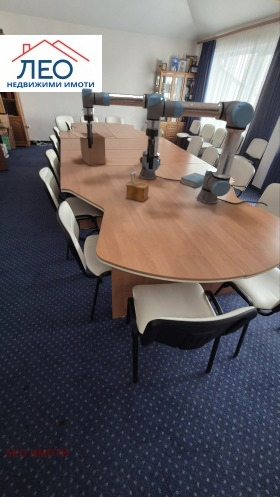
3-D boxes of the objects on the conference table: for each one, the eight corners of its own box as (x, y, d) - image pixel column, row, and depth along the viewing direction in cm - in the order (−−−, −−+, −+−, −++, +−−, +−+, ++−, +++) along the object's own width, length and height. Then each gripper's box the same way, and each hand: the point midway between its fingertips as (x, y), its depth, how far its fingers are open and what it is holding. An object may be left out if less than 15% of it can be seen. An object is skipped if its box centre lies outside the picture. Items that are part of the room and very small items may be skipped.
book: (194, 177, 212) (195, 172, 209) (208, 182, 203) (210, 177, 200) (180, 182, 199) (181, 177, 196) (194, 188, 190) (196, 182, 187)
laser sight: (159, 166, 236) (160, 156, 231) (138, 163, 239) (139, 153, 233) (160, 163, 244) (161, 154, 238) (140, 161, 247) (141, 151, 241)
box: (116, 165, 229) (116, 136, 213) (83, 168, 214) (80, 137, 198) (102, 154, 259) (101, 128, 243) (71, 156, 244) (68, 129, 228)
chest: (126, 198, 165) (126, 186, 160) (131, 193, 173) (132, 181, 167) (143, 201, 162) (144, 189, 156) (147, 197, 169) (148, 185, 163)
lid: (126, 185, 160) (126, 173, 155) (131, 181, 167) (131, 170, 162) (144, 189, 156) (145, 177, 151) (148, 185, 163) (149, 173, 158)
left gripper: (85, 112, 170) (87, 142, 182) (81, 116, 150) (84, 149, 163) (94, 113, 171) (96, 142, 183) (92, 117, 151) (94, 150, 163)
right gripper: (144, 124, 138) (142, 160, 150) (148, 131, 118) (145, 171, 130) (156, 125, 138) (153, 160, 151) (161, 132, 118) (157, 172, 131)
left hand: (90, 146), depth 173 cm, fingers open, 13 cm apart
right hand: (149, 165), depth 141 cm, fingers open, 13 cm apart
